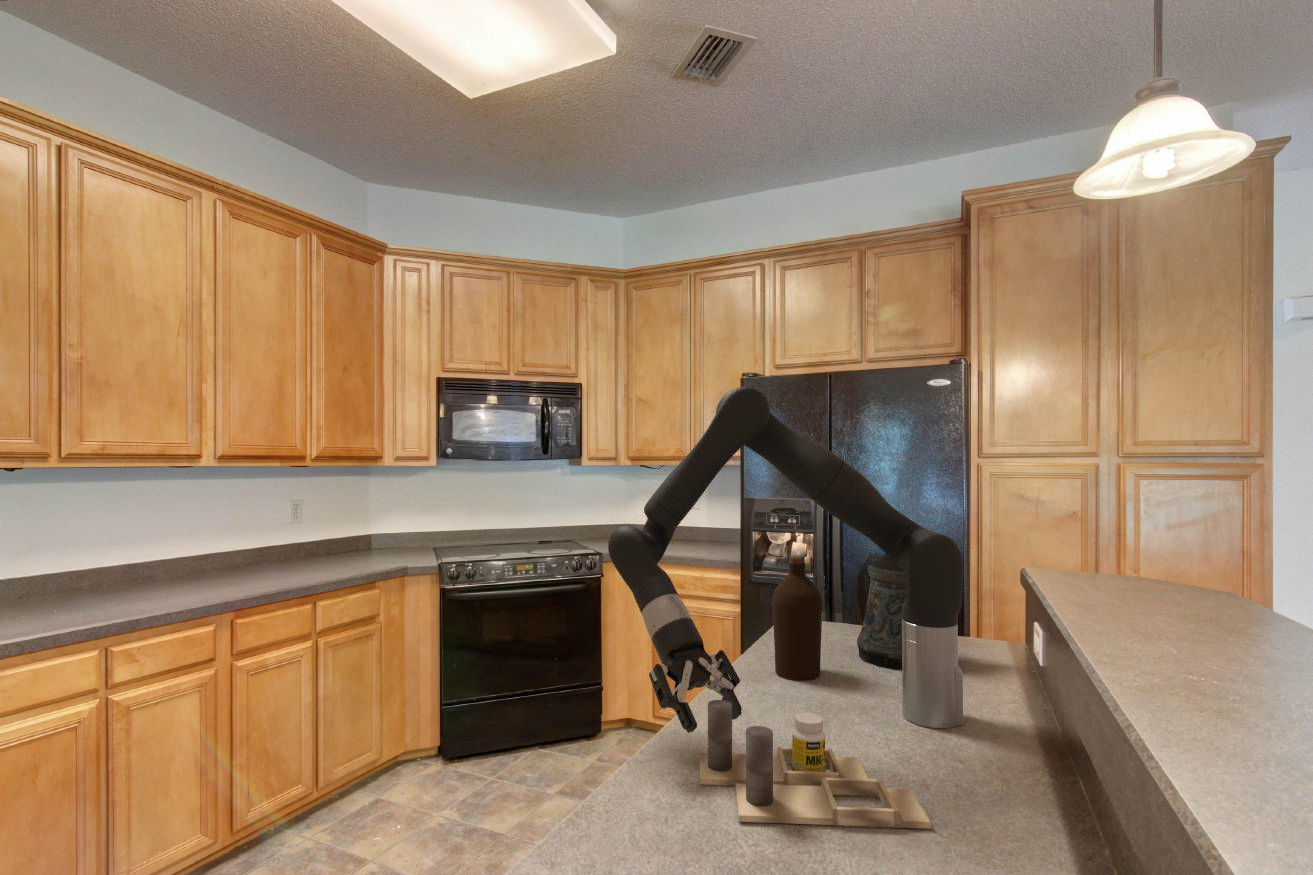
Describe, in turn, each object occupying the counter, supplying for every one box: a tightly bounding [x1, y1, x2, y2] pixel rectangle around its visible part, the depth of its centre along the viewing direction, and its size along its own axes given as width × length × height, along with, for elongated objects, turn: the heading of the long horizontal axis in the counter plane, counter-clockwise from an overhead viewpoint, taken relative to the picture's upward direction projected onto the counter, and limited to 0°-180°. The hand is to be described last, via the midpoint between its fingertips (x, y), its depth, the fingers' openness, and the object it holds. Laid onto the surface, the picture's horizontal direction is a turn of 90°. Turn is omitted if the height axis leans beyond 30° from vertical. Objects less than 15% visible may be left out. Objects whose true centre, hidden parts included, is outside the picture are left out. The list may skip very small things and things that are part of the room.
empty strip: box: [734, 725, 932, 829], centre depth 86 cm, size 24×8×10 cm, turn 86°
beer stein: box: [856, 552, 909, 671], centre depth 150 cm, size 16×19×25 cm
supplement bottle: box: [791, 712, 826, 772], centre depth 96 cm, size 5×5×8 cm
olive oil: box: [771, 554, 824, 682], centre depth 139 cm, size 11×11×25 cm
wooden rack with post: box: [699, 699, 869, 786], centre depth 96 cm, size 24×8×10 cm, turn 86°
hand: (715, 723), depth 97 cm, fingers open, 8 cm apart
